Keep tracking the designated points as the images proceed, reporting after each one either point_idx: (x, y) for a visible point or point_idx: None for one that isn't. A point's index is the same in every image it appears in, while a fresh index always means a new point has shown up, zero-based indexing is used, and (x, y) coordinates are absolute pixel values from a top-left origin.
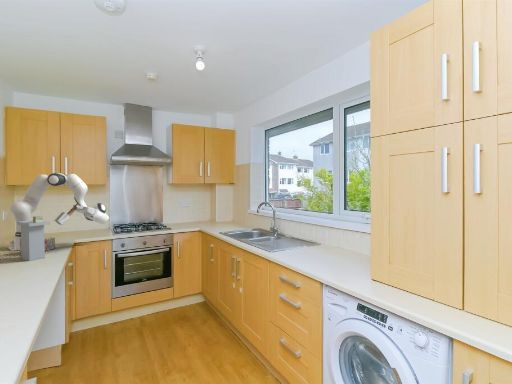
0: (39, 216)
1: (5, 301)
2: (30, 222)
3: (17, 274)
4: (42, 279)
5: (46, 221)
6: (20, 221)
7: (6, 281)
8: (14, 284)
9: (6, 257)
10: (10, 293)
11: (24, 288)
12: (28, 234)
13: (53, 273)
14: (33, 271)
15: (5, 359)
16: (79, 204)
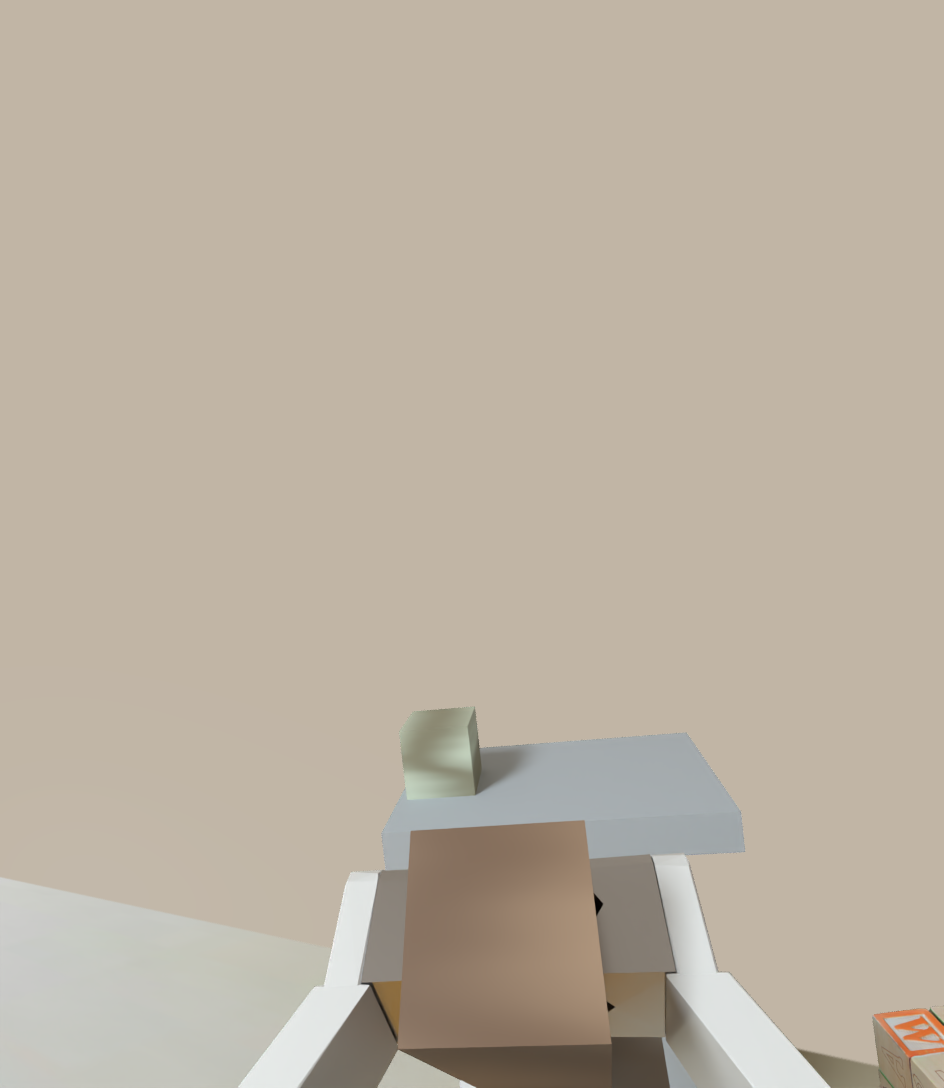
0: (422, 723)
1: (24, 884)
2: (498, 762)
3: (243, 972)
4: (15, 1001)
5: (421, 822)
6: (684, 742)
7: (200, 925)
8: (123, 929)
9: (869, 1075)
10: (59, 902)
11: (34, 933)
12: None
13: (3, 1070)
14: (189, 1030)
15: None
16: (413, 950)
